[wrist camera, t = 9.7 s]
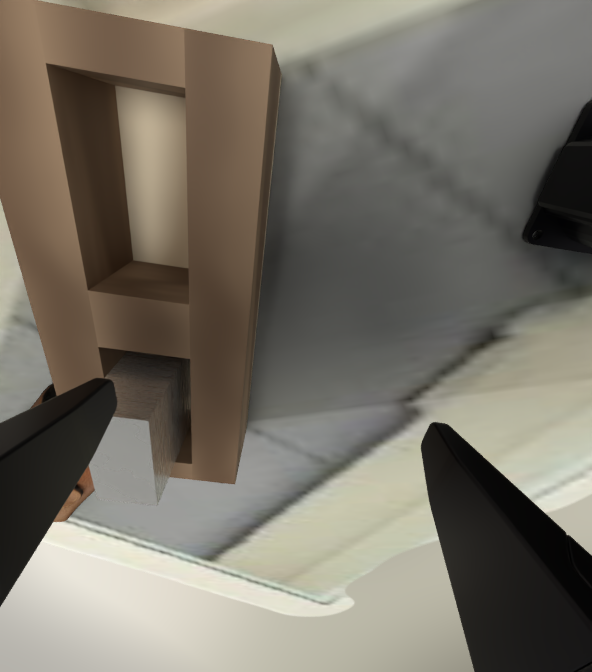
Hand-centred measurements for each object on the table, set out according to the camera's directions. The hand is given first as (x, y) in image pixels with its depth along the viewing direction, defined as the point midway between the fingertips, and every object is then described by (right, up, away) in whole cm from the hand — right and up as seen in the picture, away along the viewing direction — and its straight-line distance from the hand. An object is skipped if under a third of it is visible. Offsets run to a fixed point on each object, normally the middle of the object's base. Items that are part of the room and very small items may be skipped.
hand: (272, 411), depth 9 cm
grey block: (-7, 0, +13) cm, 15 cm away
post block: (-6, +5, +11) cm, 13 cm away
